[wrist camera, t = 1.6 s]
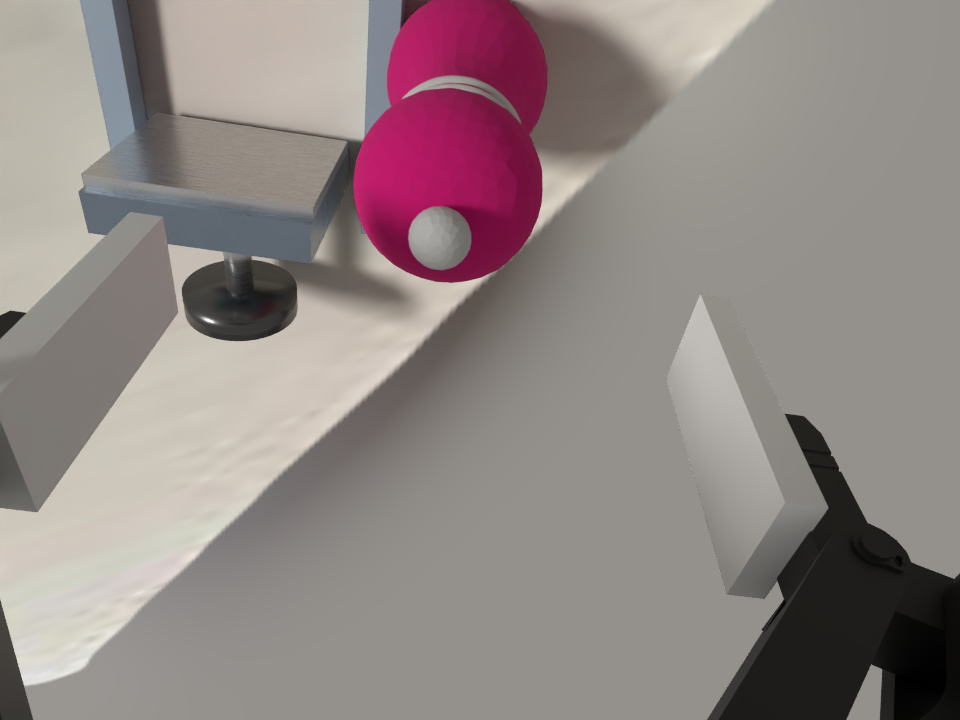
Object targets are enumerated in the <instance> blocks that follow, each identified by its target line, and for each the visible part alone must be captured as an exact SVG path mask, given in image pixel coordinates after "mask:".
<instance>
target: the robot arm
mask: <svg viewBox="0 0 960 720" xmlns="http://www.w3.org/2000/svg"><path fill="white" fill-rule="evenodd" d="M177 313H178V307H177V301H176V295H175V289H174V283H173V276H172V270H171V264H170V258H169V252H168V245H167V239H166V233H165V227H164V220H163V217H162V216H155V215H148V214H141V213H135V212H129V213H128V214H127V215H126V216H125V217H124V218H123V219H122V220H121V221H120V222H119V223H118V224H117V225H116V226H115V227H114V228H113V229H112V230H111V231H110V232H109V233H108V234H107V235H106V236H105V237H104V238H103V239H102V240H101V241H100V242H99V243H98V244H97V245H96V246H95V247H94V248H93V249H92V250H91V251H90V252H89V253H88V254H86V255H85V256H84V257H83V258H82V259H81V260H80V261H79V262H78V263H77V264H76V265H75V266H74V267H73V268H72V269H71V270H70V271H69V272H68V273H67V274H66V275H65V276H64V277H63V278H62V279H61V280H60V281H59V282H58V283H57V284H56V285H55V286H54V287H53V288H52V289H51V290H50V291H49V292H48V293H47V294H46V295H45V296H44V297H43V298H42V299H41V300H40V301H39V302H38V303H36V304H35V305H34V306H33V307H32V308H31V309H30V310H29V311H28V312H27V313H23V312H16V311H9V312H7V313H5V314H3V315H1V316H0V508H6V509H15V510H23V511H31V512H38V511H39V509H40V508H41V506H42V505H43V504H44V502H45V501H46V499H47V498H48V497H49V495H50V494H51V492H52V491H53V489H54V488H55V487H56V485H57V484H58V482H59V481H60V479H61V478H62V477H63V475H64V474H65V472H66V471H67V470H68V468H69V467H70V465H71V464H72V462H73V461H74V460H75V458H76V457H77V455H78V454H79V452H80V451H81V450H82V448H83V447H84V445H85V444H86V443H87V441H88V440H89V438H90V437H91V435H92V434H93V433H94V431H95V430H96V428H97V427H98V425H99V424H100V423H101V421H102V420H103V418H104V417H105V416H106V414H107V413H108V411H109V410H110V408H111V407H112V406H113V404H114V403H115V401H116V400H117V398H118V397H119V396H120V394H121V393H122V391H123V390H124V389H125V387H126V386H127V384H128V383H129V381H130V380H131V379H132V377H133V376H134V374H135V373H136V372H137V370H138V369H139V367H140V366H141V364H142V363H143V362H144V360H145V359H146V357H147V356H148V354H149V353H150V352H151V350H152V349H153V347H154V346H155V345H156V343H157V342H158V340H159V339H160V337H161V336H162V335H163V333H164V332H165V330H166V329H167V327H168V326H169V325H170V323H171V322H172V320H173V319H174V318H175V316H176V315H177ZM666 380H667V384H668V387H669V391H670V394H671V398H672V402H673V405H674V409H675V412H676V416H677V419H678V423H679V427H680V430H681V434H682V437H683V440H684V444H685V448H686V451H687V455H688V458H689V462H690V466H691V469H692V473H693V476H694V479H695V483H696V487H697V491H698V494H699V498H700V501H701V505H702V508H703V512H704V515H705V519H706V523H707V526H708V530H709V533H710V537H711V540H712V544H713V547H714V551H715V555H716V558H717V562H718V565H719V569H720V572H721V576H722V579H723V583H724V586H725V590H726V594H728V595H738V596H745V597H753V598H762V599H765V597H766V596H767V595H768V593H769V592H770V590H771V589H772V588H773V586H774V585H775V583H776V582H777V581H778V583H779V586H780V589H781V592H782V595H783V597H784V600H783V602H782V603H781V604H780V606H779V607H778V608H777V610H776V611H775V612H774V614H773V615H772V617H771V618H770V619H769V621H768V622H767V623H766V625H765V626H764V627H763V629H762V631H763V632H762V634H761V635H760V637H759V639H758V640H757V642H756V643H755V645H754V646H753V648H752V649H751V651H750V653H749V654H748V656H747V657H746V659H745V661H744V662H743V664H742V665H741V667H740V668H739V670H738V672H737V673H736V675H735V676H734V678H733V679H732V681H731V683H730V684H729V686H728V687H727V689H726V691H725V692H724V694H723V695H722V697H721V698H720V700H719V702H718V703H717V705H716V706H715V708H714V710H713V711H712V713H711V715H710V716H709V717H708V719H707V720H846V719H847V717H848V714H849V712H850V710H851V708H852V706H853V703H854V701H855V699H856V697H857V694H858V692H859V690H860V688H861V686H862V683H863V681H864V679H865V677H866V674H867V672H868V670H869V667H870V666H871V664H872V665H874V666H877V667H879V668H881V669H882V689H881V709H880V720H960V574H959V575H958V576H957V577H956V578H955V579H953V578H950V577H947V576H945V575H942V574H940V573H937V572H934V571H932V570H929V569H926V568H924V567H921V566H919V565H916V564H914V563H912V562H911V561H910V559H909V556H908V554H907V552H906V551H905V550H904V549H903V547H902V546H901V545H900V544H899V543H898V542H897V540H895V539H894V538H893V537H891V536H890V535H889V534H887V533H886V532H885V531H883V530H881V529H879V528H877V527H875V526H873V525H871V524H868V523H867V521H866V519H865V517H864V515H863V514H862V511H861V510H860V508H859V506H858V504H857V502H856V500H855V498H854V496H853V494H852V492H851V490H850V488H849V486H848V484H847V482H846V480H845V479H844V477H843V475H842V473H841V472H839V467H838V465H837V463H836V461H835V459H834V457H833V456H831V451H830V449H829V448H828V446H827V443H826V442H825V440H824V438H823V436H822V434H821V433H820V432H819V431H818V430H817V429H816V428H815V427H814V426H813V425H812V424H811V423H810V422H809V421H808V420H807V419H806V418H805V417H804V416H798V415H790V414H784V412H783V410H782V408H781V406H780V403H779V401H778V399H777V397H776V395H775V393H774V391H773V388H772V386H771V384H770V382H769V380H768V378H767V376H766V373H765V372H764V369H763V367H762V365H761V363H760V361H759V359H758V356H757V354H756V352H755V350H754V348H753V346H752V344H751V342H750V339H749V337H748V335H747V333H746V331H745V329H744V327H743V324H742V322H741V320H740V318H739V316H738V314H737V312H736V310H735V307H734V305H733V303H732V301H731V299H730V298H724V297H717V296H710V295H703V294H700V296H699V299H698V301H697V304H696V306H695V309H694V311H693V314H692V316H691V319H690V321H689V323H688V326H687V329H686V331H685V333H684V336H683V338H682V341H681V343H680V346H679V348H678V351H677V353H676V356H675V358H674V361H673V363H672V365H671V368H670V370H669V373H668V375H667V378H666ZM0 720H33V718H32V714H31V710H30V707H29V703H28V699H27V696H26V692H25V689H24V685H23V681H22V678H21V674H20V670H19V667H18V663H17V659H16V656H15V652H14V648H13V645H12V641H11V637H10V634H9V630H8V627H7V623H6V619H5V616H4V612H3V608H2V605H1V601H0Z"/></svg>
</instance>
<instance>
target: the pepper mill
mask: <svg viewBox="0 0 960 720" xmlns="http://www.w3.org/2000/svg"><path fill="white" fill-rule="evenodd" d="M546 89H547V65H546V60H545V55H544V51H543V49H542V46H541V44H540V41H539V39H538V36H537V35H536V33H535V32H534V30H533V29H532V27H531V26H530V24H529V23H528V21H527V20H526V19H525V18H524V17H523V16H522V15H521V13H520V12H519V11H518V10H517V8H516V7H515V6H514V5H513V4H512V3H510V2H509V1H508V0H431V1H429V2H428V3H426V4H425V5H423V6H422V7H420V8H419V9H418V10H417V11H416V12H414V13H413V14H412V15H411V16H410V17H409V18H408V20H407V21H406V22H405V24H404V25H403V26H402V28H401V29H400V31H399V33H398V35H397V37H396V39H395V41H394V44H393V47H392V50H391V54H390V59H389V64H388V70H387V91H388V98H389V102H390V105H391V107H390V108H389V109H387V110H386V111H385V112H384V113H383V114H382V115H381V116H380V117H379V119H378V120H377V121H376V122H375V123H374V125H373V126H372V127H371V128H370V130H369V131H368V133H367V135H366V136H365V138H364V140H363V143H362V145H361V148H360V151H359V154H358V157H357V160H356V166H355V172H354V182H353V187H354V200H355V204H356V209H357V213H358V217H359V219H360V221H361V224H362V226H363V229H364V231H365V232H366V234H367V236H368V237H369V239H370V240H371V242H372V243H373V245H374V246H375V247H376V248H377V250H378V251H379V252H380V253H381V254H382V255H384V256H385V257H386V258H387V259H388V260H389V261H390V262H391V263H393V264H394V265H396V266H397V267H399V268H401V269H402V270H404V271H406V272H408V273H410V274H413V275H415V276H418V277H420V278H424V279H428V280H432V281H435V282H450V283H453V282H462V281H469V280H473V279H477V278H481V277H483V276H485V275H487V274H489V273H492V272H494V271H496V270H498V269H499V268H500V267H502V266H503V265H504V264H506V263H507V262H508V261H509V260H510V259H511V258H512V257H513V256H514V255H515V254H516V253H517V252H518V251H519V250H520V249H521V248H522V246H523V245H524V243H525V242H526V240H527V239H528V237H529V236H530V234H531V232H532V230H533V228H534V225H535V223H536V221H537V218H538V215H539V211H540V207H541V202H542V169H541V165H540V161H539V158H538V155H537V152H536V150H535V147H534V145H533V142H532V139H531V138H530V136H529V134H530V133H531V132H532V130H533V128H534V127H535V125H536V123H537V121H538V120H539V117H540V114H541V111H542V108H543V106H544V101H545V95H546Z"/></svg>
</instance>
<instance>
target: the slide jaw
mask: <svg viewBox="0 0 960 720" xmlns="http://www.w3.org/2000/svg"><path fill="white" fill-rule="evenodd" d="M347 146H348V141H343V140H336V139H329V138H323V137H316V136H310V135H303V134H296V133H290V132H283V131H277V130H270V129H263V128H257V127H250V126H244V125H237V124H230V123H224V122H217V121H211V120H204V119H197V118H191V117H184V116H177V115H171V114H164V113H158V112H157V113H156V114H155V115H153V116H152V117H151V118H150V119H148V120H147V121H146V122H145V123H143V124H142V125H141V126H140V127H139V128H137V129H136V130H135V131H134V132H132V133H131V134H130V135H129V136H127V137H126V138H125V139H124V140H122V141H121V142H120V143H119V144H117V145H116V146H115V147H114V148H113V149H111V150H110V151H109V152H108V153H106V154H105V155H104V156H103V157H101V158H100V159H99V160H98V161H96V162H95V163H94V164H93V165H91V166H90V167H89V168H88V169H86V170H85V171H84V172H83V173H82V174H81V176H82V180H83V184H84V187H83V188H82V189H81V190H80V191H79V196H80V200H81V204H82V208H83V212H84V216H85V220H86V225H87V229H88V233H94V234H101V235H107V234H108V233H109V232H110V231H111V230H112V229H113V228H114V227H115V226H116V225H117V224H118V223H119V222H120V221H121V220H122V219H123V218H124V217H125V216H126V215H127V214H128V213H129V212H135V213H141V214H148V215H155V216H162V217H163V220H164V227H165V233H166V239H167V244H172V245H179V246H186V247H194V248H201V249H208V250H215V251H222V252H223V254H224V261H221V262H217V263H213V264H210V265H207V266H205V267H202V268H201V269H199V270H197V271H195V272H194V273H192V274H191V275H190V276H189V277H188V278H187V279H186V280H185V282H184V284H183V287H182V296H183V302H184V309H185V315H186V319H187V321H188V322H189V324H190V325H191V326H192V327H193V328H194V329H195V330H197V331H198V332H200V333H202V334H204V335H207V336H209V337H212V338H216V339H221V340H228V341H249V340H256V339H260V338H264V337H268V336H271V335H273V334H276V333H278V332H280V331H281V330H283V329H284V328H286V327H287V326H288V325H289V324H291V322H292V321H293V320H294V318H295V317H296V314H297V308H298V307H297V285H296V282H295V280H294V278H293V277H292V276H291V275H290V274H289V273H288V272H287V271H286V270H284V269H282V268H280V267H278V266H276V265H273V264H270V263H267V262H263V261H257V260H252V256H258V257H265V258H272V259H279V260H286V261H293V262H300V263H307V264H311V263H312V261H313V259H314V257H315V255H316V252H317V250H318V248H319V246H320V244H321V241H322V239H323V237H324V235H325V233H326V231H327V228H328V226H329V224H330V222H331V220H332V218H333V215H334V213H335V211H336V209H337V207H338V204H339V202H340V200H341V198H342V196H343V194H344V191H345V189H346V187H347V185H348V179H349V149H348V148H347Z"/></svg>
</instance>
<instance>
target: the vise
mask: <svg viewBox="0 0 960 720" xmlns="http://www.w3.org/2000/svg"><path fill="white" fill-rule="evenodd" d="M405 1H406V0H369V22H368V50H367V79H366V107H365V136H366V135H367V133H368V131H369V130H370V128H371V127H372V126H373V125H374V123H375V122H376V121H377V120H378V119H379V117H380V116H381V115H382V114H383V113H384V112H385V111H386V110H387V109H389V108H390V107H391V105H390V102H389V98H388V91H387V70H388V64H389V59H390V54H391V50H392V47H393V44H394V41H395V39H396V37H397V35H398V33H399V31H400V29H401V28H402V26H403V25H404V16H405ZM80 3H81V8H82V13H83V18H84V23H85V27H86V32H87V37H88V42H89V47H90V52H91V57H92V62H93V66H94V71H95V76H96V81H97V86H98V91H99V96H100V101H101V106H102V110H103V115H104V120H105V125H106V130H107V135H108V140H109V145H110V150H111V149H113V148H114V147H115V146H116V145H117V144H119V143H120V142H121V141H122V140H124V139H125V138H126V137H127V136H129V135H130V134H131V133H132V132H134V131H135V130H136V129H137V128H139V127H140V126H141V125H142V124H143V123H145V122H146V121H147V118H146V111H145V105H144V99H143V93H142V87H141V81H140V75H139V69H138V63H137V57H136V51H135V45H134V39H133V33H132V27H131V21H130V15H129V9H128V3H127V0H80ZM365 136H364V138H365ZM361 233H362V234H366V232H365V231H364V229H363V226H362V224H361Z"/></svg>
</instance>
